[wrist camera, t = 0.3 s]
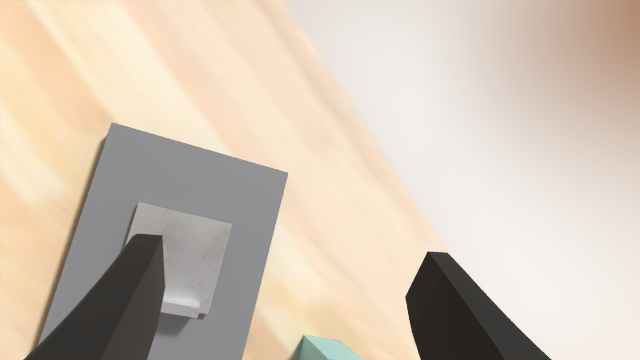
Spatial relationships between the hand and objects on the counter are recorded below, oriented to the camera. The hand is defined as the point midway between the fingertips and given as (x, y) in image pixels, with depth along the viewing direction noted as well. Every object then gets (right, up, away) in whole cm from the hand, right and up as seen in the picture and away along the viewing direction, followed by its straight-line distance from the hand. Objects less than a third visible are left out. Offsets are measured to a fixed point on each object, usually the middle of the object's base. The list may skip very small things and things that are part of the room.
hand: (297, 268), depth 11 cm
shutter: (-12, -4, +23) cm, 27 cm away
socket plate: (-13, -5, +26) cm, 29 cm away
